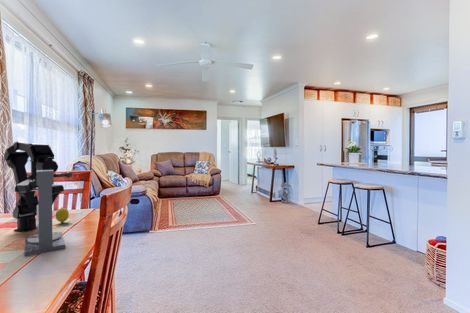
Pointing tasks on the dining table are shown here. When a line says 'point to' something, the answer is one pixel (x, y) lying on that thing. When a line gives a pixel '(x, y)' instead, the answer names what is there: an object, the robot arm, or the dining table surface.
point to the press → (45, 216)
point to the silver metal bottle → (37, 221)
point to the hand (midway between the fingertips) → (39, 208)
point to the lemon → (62, 214)
